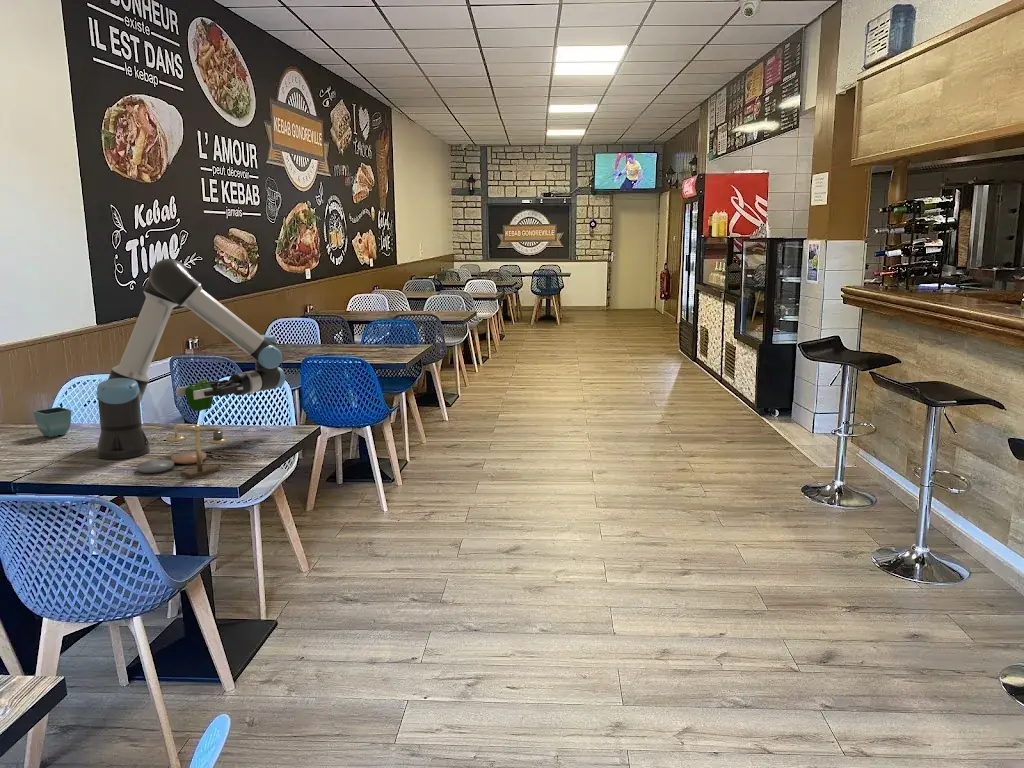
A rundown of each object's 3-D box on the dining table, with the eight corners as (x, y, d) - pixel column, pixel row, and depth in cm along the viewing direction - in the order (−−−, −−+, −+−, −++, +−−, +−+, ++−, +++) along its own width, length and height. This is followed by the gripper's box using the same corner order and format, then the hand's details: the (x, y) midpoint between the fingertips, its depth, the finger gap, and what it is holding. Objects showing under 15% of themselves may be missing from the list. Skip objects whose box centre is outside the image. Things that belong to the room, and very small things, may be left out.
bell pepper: (182, 412, 239) (179, 381, 237) (193, 406, 247) (191, 377, 245) (207, 412, 239) (205, 382, 237) (218, 407, 247) (216, 377, 245)
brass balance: (166, 479, 212) (161, 425, 209) (221, 464, 227) (218, 413, 224) (176, 482, 209) (172, 428, 206) (232, 466, 224) (229, 415, 222)
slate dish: (130, 471, 220) (129, 465, 219) (161, 462, 228) (161, 457, 228) (150, 476, 214) (149, 471, 214) (181, 468, 223) (181, 463, 222)
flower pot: (74, 434, 262) (72, 409, 260) (48, 439, 254) (45, 414, 253) (61, 431, 266) (58, 406, 265) (35, 436, 259) (32, 411, 257)
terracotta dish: (164, 462, 229) (164, 457, 228) (193, 454, 237) (192, 449, 237) (184, 467, 224) (184, 462, 223) (213, 459, 232) (212, 454, 232)
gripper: (265, 397, 252) (207, 409, 233) (225, 390, 263) (166, 401, 244) (264, 375, 251) (205, 385, 232) (224, 369, 262) (164, 379, 243)
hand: (185, 393), depth 238 cm, fingers closed on bell pepper, 8 cm apart
